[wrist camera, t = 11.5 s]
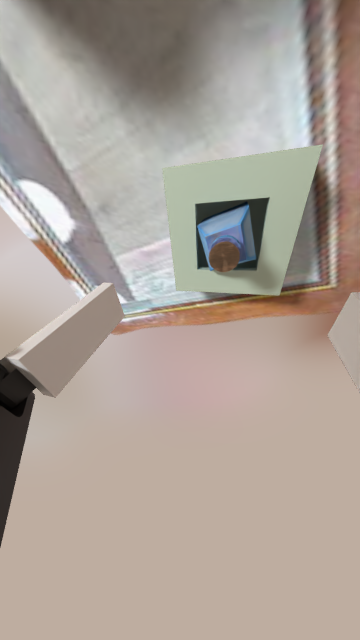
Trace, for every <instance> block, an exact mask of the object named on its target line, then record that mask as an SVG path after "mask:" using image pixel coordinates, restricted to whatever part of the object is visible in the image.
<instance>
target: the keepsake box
mask: <svg viewBox="0 0 360 640" xmlns="http://www.w3.org/2000/svg"><path fill="white" fill-rule="evenodd" d="M322 146H323V145H317V146H310V147H303V148H296V149H289V150H283V151H276V152H269V153H262V154H256V155H249V156H242V157H235V158H229V159H222V160H215V161H208V162H201V163H195V164H188V165H181V166H174V167H168V168H162V170H163V178H164V187H165V196H166V205H167V213H168V222H169V231H170V240H171V248H172V257H173V266H174V275H175V283H176V291H196V292H217V293H238V294H259V295H280V292H281V288H282V285H283V281H284V278H285V274H286V271H287V267H288V264H289V261H290V257H291V254H292V250H293V247H294V243H295V240H296V236H297V233H298V229H299V226H300V222H301V219H302V215H303V212H304V208H305V205H306V201H307V198H308V194H309V191H310V187H311V184H312V180H313V177H314V174H315V170H316V167H317V163H318V160H319V156H320V153H321V149H322ZM245 202H248V205H249V211H250V218H251V225H252V233H253V240H254V247H255V254H256V259H255V260H251V261H247V262H244V263H240V264H237V266H236V267H235V268H234V269H232V270H231V271H228V272H218V271H216V270H213V271H210V269H209V265H208V262H207V258H206V255H205V251H204V248H203V244H202V241H201V238H200V234H199V231H198V227H197V226H198V225H199V224H200V223H201V222H202V221H203V220H204V219H205V218H207V217H209V216H212V215H214V214H217V213H219V212H222V211H224V210H227V209H229V208H232V207H234V206H237V205H239V204H242V203H245Z"/></svg>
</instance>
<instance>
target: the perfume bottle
mask: <svg viewBox="0 0 360 640" xmlns="http://www.w3.org/2000/svg"><path fill="white" fill-rule="evenodd" d="M197 227H198V231H199V234H200V238H201V241H202V244H203V248H204V251H205V255H206V258H207V262H208V265H209V269H210V271H213V270H216V271H218V272H228V271H231V270H232V269H234V268H235V267H236V266H237V264H240V263H244V262H247V261H251V260H255V259H256V254H255V247H254V240H253V233H252V225H251V218H250V211H249V205H248V202H245V203H242V204H239V205H237V206H234V207H232V208H229V209H227V210H224V211H222V212H219V213H217V214H214V215H212V216H209V217H207V218H205V219H204V220H203V221H202V222H201V223H200V224H199V225H198V226H197Z"/></svg>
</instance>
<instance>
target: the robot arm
mask: <svg viewBox="0 0 360 640" xmlns="http://www.w3.org/2000/svg"><path fill="white" fill-rule="evenodd" d="M124 317H125V316H124V313H123V310H122V307H121V304H120V302H119V299H118V296H117V293H116V290H115V287H114V284H113V283H102V284H101V285H100V286H98V287H97V288H96V289H94V290H93V291H92V292H90V293H89V294H88V295H86V296H85V297H84V298H82V299H81V300H80V301H78V302H77V303H76V304H74V305H73V306H72V307H70V308H69V309H68V310H66V311H65V312H64V313H62V314H61V315H60V316H58V317H57V318H56V319H54V320H53V321H52V322H50V323H49V324H48V325H46V326H45V327H44V328H43V329H41V330H40V331H38V332H37V333H36V334H34V335H33V336H32V337H30V338H29V339H28V340H26V341H25V342H24V343H22V344H21V345H20V346H18V347H17V348H16V349H14V350H13V351H12V352H10V353H9V354H8V355H6V356H5V357H4V358H3V359H2V360H0V546H1V541H2V538H3V533H4V529H5V525H6V520H7V516H8V512H9V507H10V503H11V499H12V494H13V490H14V485H15V481H16V477H17V473H18V468H19V464H20V460H21V455H22V451H23V446H24V443H25V438H26V434H27V430H28V425H29V421H30V417H31V412H32V408H33V404H34V399H35V394H34V393H33V392H32V391H33V390H34V389H35V388H37V389H38V390H39V391H40V392H41V393H42V394H43V395H47V396H51V397H56V396H57V395H58V394H59V393H60V392H61V391H62V389H63V388H64V387H65V386H66V385H67V384H68V382H69V381H70V380H71V379H72V378H73V376H74V375H75V374H76V373H77V372H78V370H79V369H80V368H81V367H82V366H83V365H84V364H85V362H86V361H87V360H88V359H89V358H90V356H91V355H92V354H93V353H94V352H95V351H96V349H97V348H98V347H99V346H100V345H101V344H102V342H103V341H104V340H105V339H106V338H107V336H108V335H109V334H110V333H111V332H112V331H113V329H114V328H115V327H116V326H117V325H118V324H119V322H120V321H121V320H122V319H123V318H124ZM328 337H329V339H330V341H331V343H332V344H333V346H334V348H335V350H336V352H337V353H338V355H339V357H340V359H341V361H342V362H343V364H344V366H345V368H346V369H347V371H348V373H349V375H350V376H351V378H352V380H353V382H354V384H355V385H356V387H357V389H358V391H359V393H360V293H358V292H351V294H350V296H349V298H348V300H347V301H346V303H345V305H344V307H343V308H342V310H341V312H340V314H339V316H338V317H337V319H336V321H335V323H334V325H333V326H332V328H331V330H330V332H329V333H328Z"/></svg>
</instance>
